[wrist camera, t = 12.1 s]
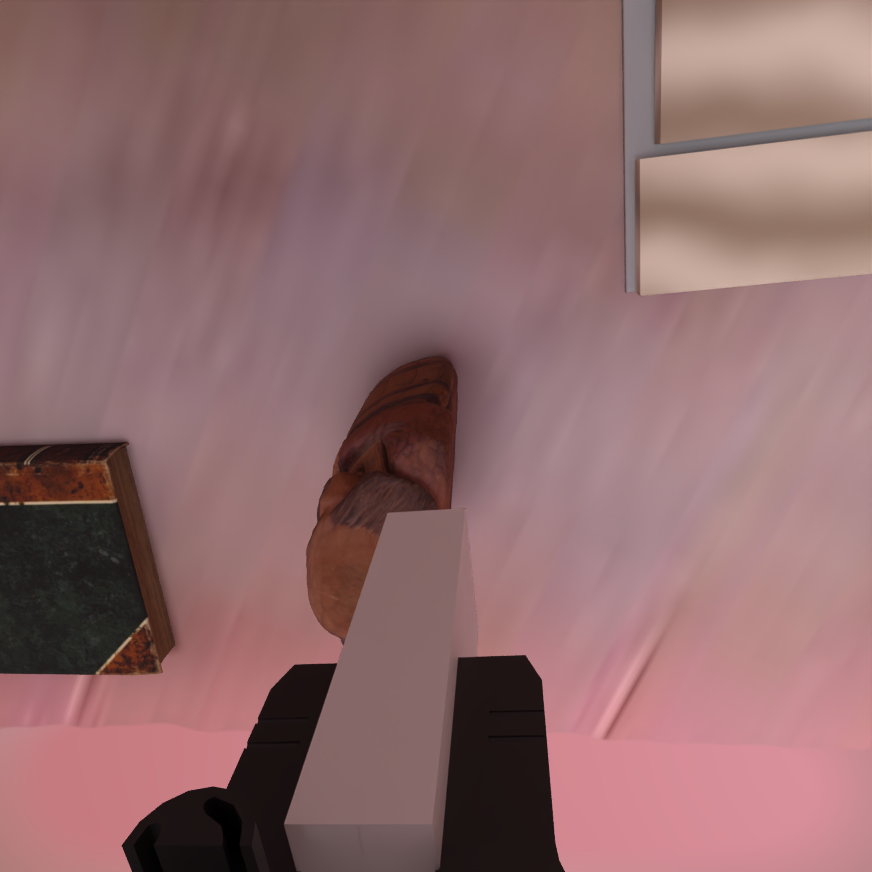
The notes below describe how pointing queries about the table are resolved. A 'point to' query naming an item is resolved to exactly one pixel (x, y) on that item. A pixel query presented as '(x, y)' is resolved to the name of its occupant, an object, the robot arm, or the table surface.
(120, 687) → the table surface
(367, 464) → the wooden figurine
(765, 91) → the plank
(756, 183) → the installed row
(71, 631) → the book
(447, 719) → the robot arm
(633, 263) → the tray
